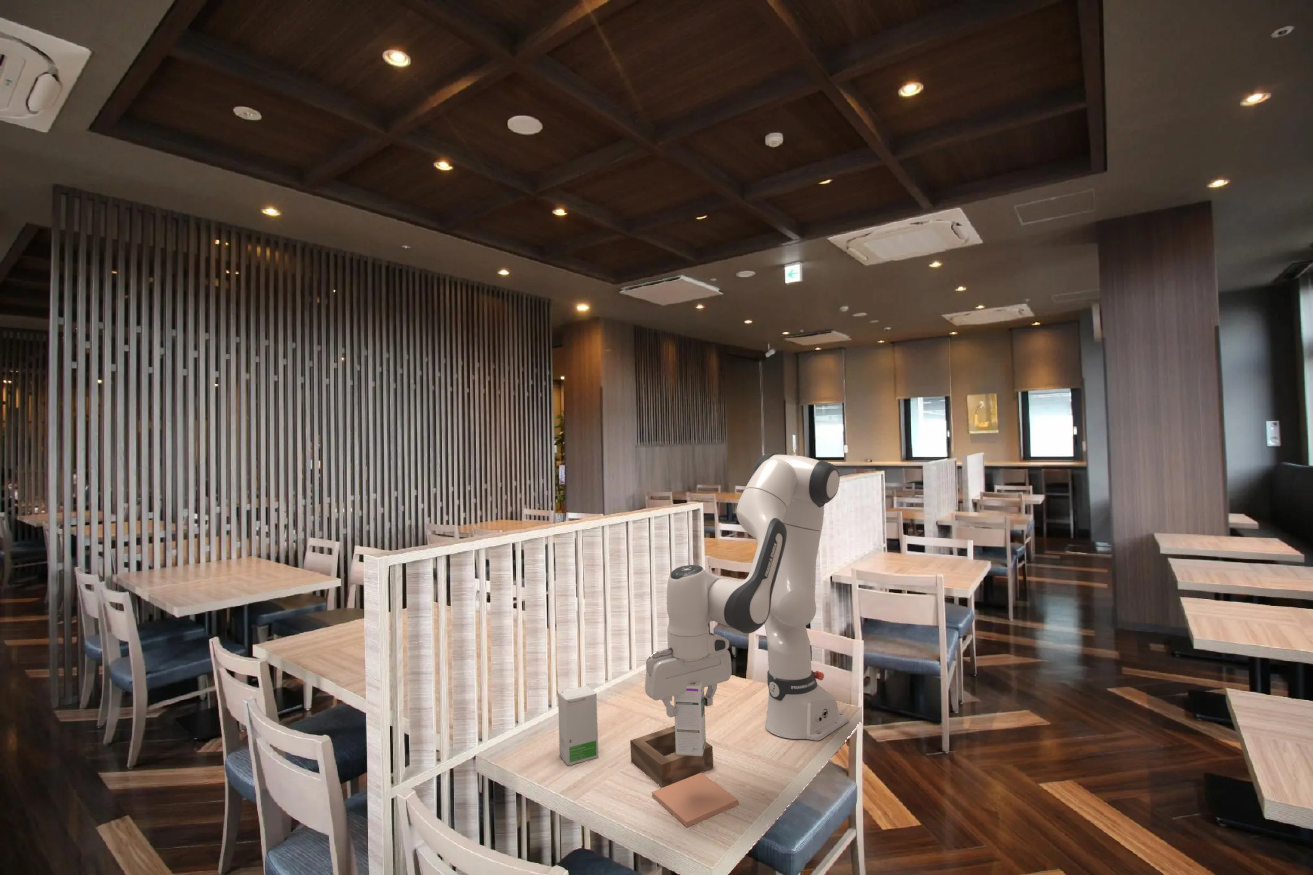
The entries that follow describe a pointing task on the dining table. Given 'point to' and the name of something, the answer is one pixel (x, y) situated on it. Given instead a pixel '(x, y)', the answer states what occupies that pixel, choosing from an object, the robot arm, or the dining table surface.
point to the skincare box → (578, 725)
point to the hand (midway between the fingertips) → (690, 710)
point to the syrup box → (690, 721)
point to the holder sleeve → (667, 758)
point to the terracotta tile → (694, 799)
